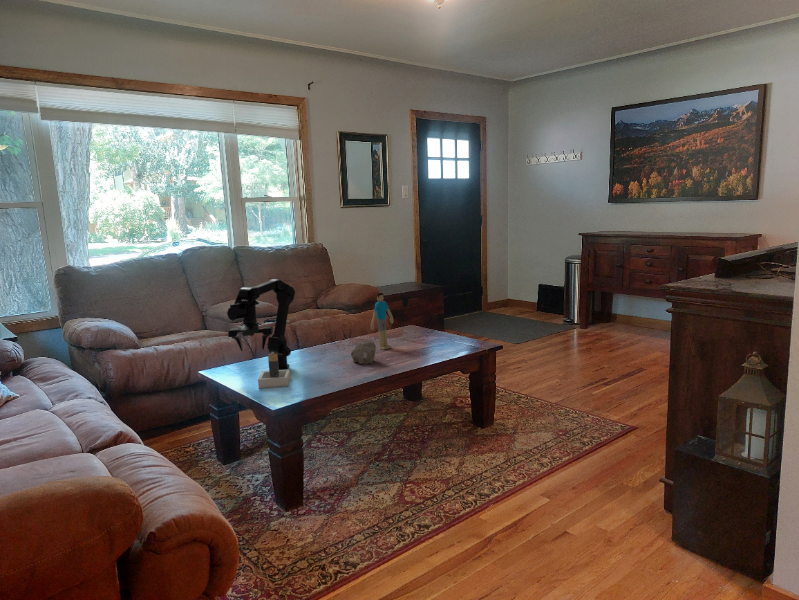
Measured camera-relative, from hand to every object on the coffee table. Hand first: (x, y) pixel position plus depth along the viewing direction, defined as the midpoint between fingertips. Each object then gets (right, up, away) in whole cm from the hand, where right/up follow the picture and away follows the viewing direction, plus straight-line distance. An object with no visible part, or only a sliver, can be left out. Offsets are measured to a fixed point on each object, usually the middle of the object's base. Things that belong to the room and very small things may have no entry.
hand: (252, 350), depth 241 cm
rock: (+49, -8, +21) cm, 54 cm away
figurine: (+57, -4, +46) cm, 74 cm away
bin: (+11, -14, -6) cm, 19 cm away
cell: (+11, -13, -6) cm, 18 cm away
